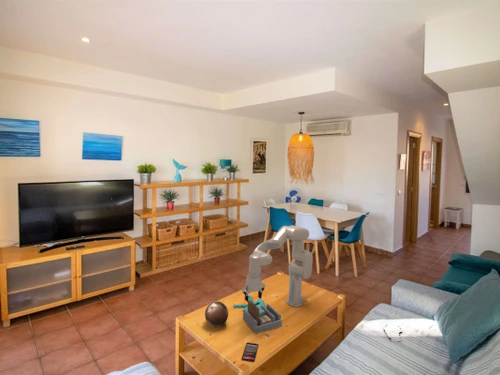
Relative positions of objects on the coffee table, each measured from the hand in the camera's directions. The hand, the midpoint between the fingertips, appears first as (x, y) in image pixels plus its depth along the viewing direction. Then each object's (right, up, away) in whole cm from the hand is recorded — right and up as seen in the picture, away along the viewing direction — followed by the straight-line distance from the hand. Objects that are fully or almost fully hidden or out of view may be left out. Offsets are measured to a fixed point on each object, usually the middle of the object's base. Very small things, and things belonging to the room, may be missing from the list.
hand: (253, 299), depth 185 cm
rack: (+6, -17, +5) cm, 19 cm away
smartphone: (-2, -21, -24) cm, 32 cm away
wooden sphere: (-24, -17, +1) cm, 29 cm away
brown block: (0, -18, +2) cm, 18 cm away
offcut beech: (+7, -18, +2) cm, 20 cm away
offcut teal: (+4, -13, +8) cm, 16 cm away
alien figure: (0, -16, +25) cm, 29 cm away
